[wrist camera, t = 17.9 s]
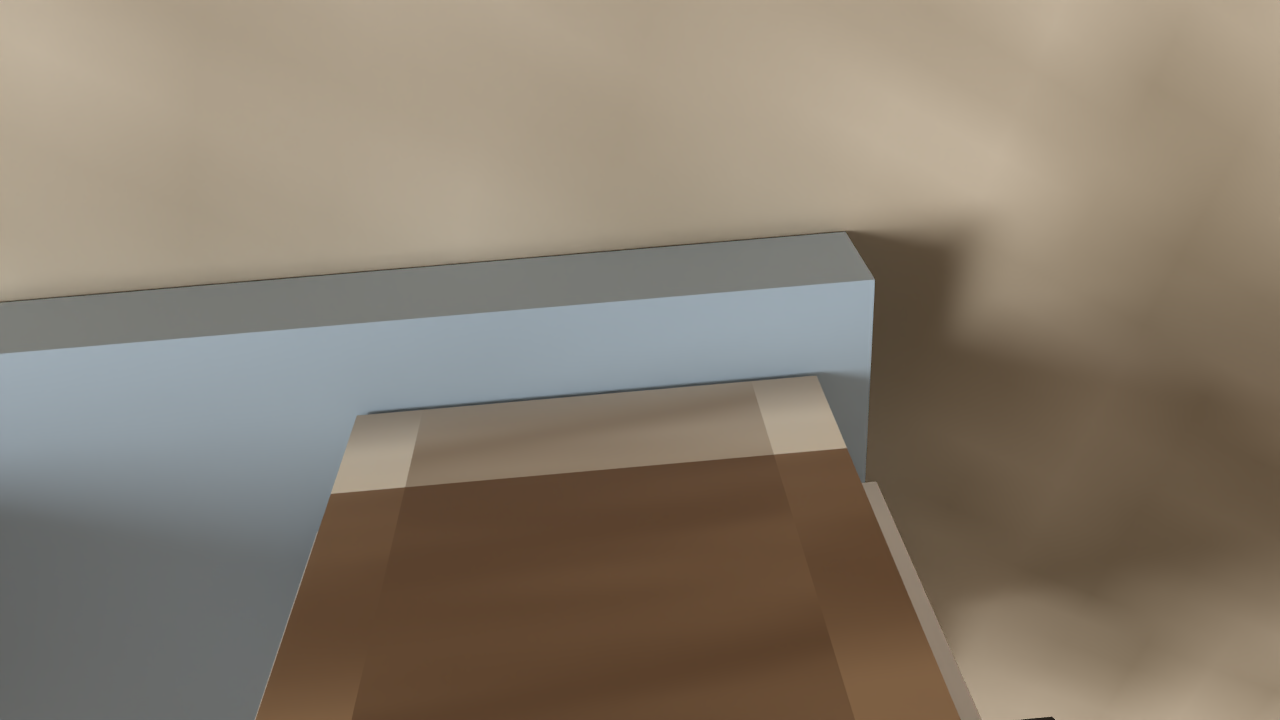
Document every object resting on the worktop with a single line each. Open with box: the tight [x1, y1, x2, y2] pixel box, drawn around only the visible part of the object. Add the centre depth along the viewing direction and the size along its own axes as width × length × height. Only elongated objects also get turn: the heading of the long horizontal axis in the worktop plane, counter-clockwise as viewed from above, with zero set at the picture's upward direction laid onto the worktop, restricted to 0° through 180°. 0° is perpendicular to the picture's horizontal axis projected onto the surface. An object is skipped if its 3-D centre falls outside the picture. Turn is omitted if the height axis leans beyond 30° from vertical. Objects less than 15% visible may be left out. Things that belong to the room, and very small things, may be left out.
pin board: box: [0, 232, 875, 720], centre depth 13 cm, size 8×20×6 cm, turn 94°
